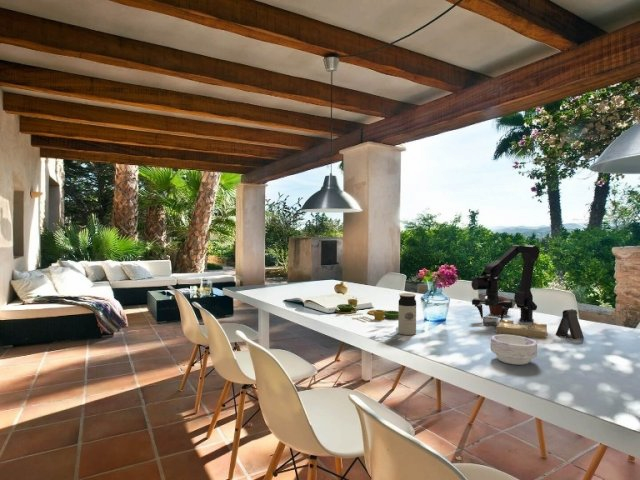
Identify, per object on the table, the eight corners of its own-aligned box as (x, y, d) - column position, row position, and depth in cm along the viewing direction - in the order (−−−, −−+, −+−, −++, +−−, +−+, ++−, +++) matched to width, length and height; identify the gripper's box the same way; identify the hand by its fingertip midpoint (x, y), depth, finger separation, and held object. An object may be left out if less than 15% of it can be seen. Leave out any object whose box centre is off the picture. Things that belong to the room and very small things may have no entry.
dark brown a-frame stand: (555, 335, 185) (555, 308, 185) (563, 333, 188) (564, 307, 187) (575, 339, 177) (575, 312, 177) (583, 338, 180) (584, 311, 179)
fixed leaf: (500, 326, 201) (500, 318, 200) (546, 332, 190) (546, 323, 190) (496, 332, 189) (496, 324, 188) (545, 338, 178) (545, 329, 178)
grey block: (486, 321, 213) (486, 313, 213) (498, 322, 210) (498, 315, 210) (482, 325, 205) (482, 317, 205) (495, 326, 202) (495, 318, 202)
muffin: (512, 314, 233) (512, 296, 232) (506, 317, 224) (506, 298, 224) (491, 311, 240) (491, 294, 240) (484, 314, 232) (484, 296, 232)
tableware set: (326, 310, 245) (326, 299, 245) (366, 306, 257) (366, 296, 257) (363, 324, 208) (363, 312, 208) (407, 319, 220) (407, 307, 220)
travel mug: (398, 330, 192) (398, 292, 192) (415, 331, 191) (416, 293, 190) (398, 334, 184) (398, 295, 184) (416, 335, 183) (416, 295, 182)
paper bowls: (547, 365, 143) (547, 343, 142) (511, 369, 138) (511, 346, 138) (514, 353, 157) (515, 332, 157) (481, 356, 153) (481, 335, 153)
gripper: (469, 290, 208) (469, 320, 208) (510, 292, 198) (509, 324, 198) (474, 287, 217) (473, 316, 217) (512, 290, 208) (512, 320, 208)
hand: (491, 319), depth 210 cm, fingers open, 9 cm apart
